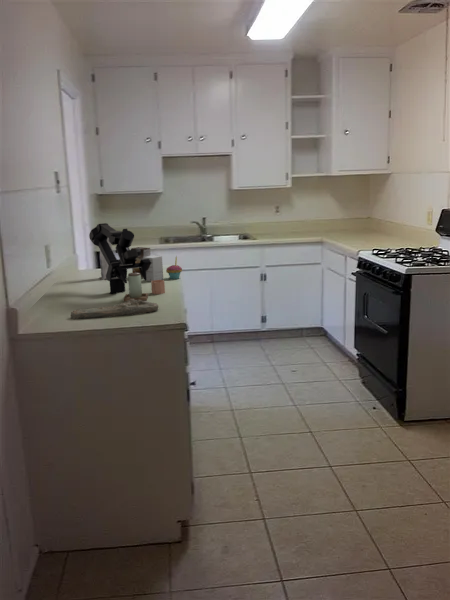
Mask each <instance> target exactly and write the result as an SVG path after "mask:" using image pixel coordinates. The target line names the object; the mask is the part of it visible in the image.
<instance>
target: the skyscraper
mask: <svg viewBox="0 0 450 600" xmlns="http://www.w3.org/2000/svg"><path fill="white" fill-rule="evenodd" d="M107 242H108V244H109V246H110V248H111V249H112V250H113V247H112V244H111V243H110V242H109V238H108V239H107ZM99 255H100V276H101V277H99V278H98V279H99V280H101V281H107V280H106V274H107V271H108V266H109V265H108V264H107V262H106V260H105V258H104V256H103V254H102V252H101V250H100V249H99Z"/></svg>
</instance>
